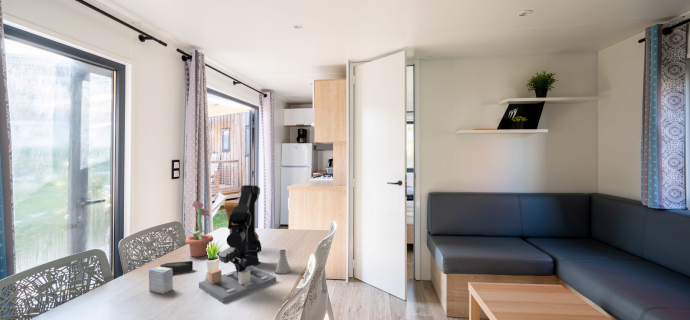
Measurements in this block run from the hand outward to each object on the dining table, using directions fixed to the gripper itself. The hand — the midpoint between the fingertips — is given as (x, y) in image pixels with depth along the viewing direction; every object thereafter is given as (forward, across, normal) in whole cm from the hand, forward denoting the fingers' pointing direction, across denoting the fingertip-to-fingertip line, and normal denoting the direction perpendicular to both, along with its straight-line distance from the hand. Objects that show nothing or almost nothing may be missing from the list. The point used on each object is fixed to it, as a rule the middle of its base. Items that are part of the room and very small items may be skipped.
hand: (240, 277), depth 122 cm
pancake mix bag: (+4, -44, +23) cm, 49 cm away
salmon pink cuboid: (+1, -6, -7) cm, 10 cm away
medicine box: (+4, -20, -23) cm, 31 cm away
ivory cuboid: (+1, +3, 0) cm, 3 cm away
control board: (+4, -2, 0) cm, 4 cm away
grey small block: (+1, -7, +8) cm, 10 cm away
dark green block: (+4, -36, -13) cm, 38 cm away
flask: (+4, +2, +21) cm, 21 cm away
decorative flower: (+4, -52, +6) cm, 52 cm away
